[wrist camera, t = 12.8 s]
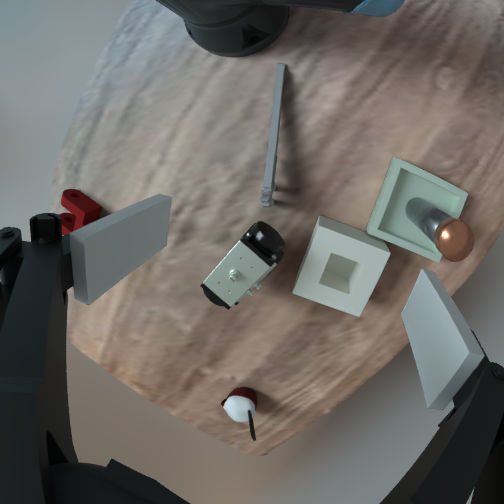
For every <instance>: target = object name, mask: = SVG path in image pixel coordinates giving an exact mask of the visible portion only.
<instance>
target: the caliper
mask: <svg viewBox="0 0 504 504" xmlns="http://www.w3.org/2000/svg"><path fill="white" fill-rule="evenodd" d="M284 71H285V64H282V63H278V66H277V69H276V79H275V88H274V97H273V107H272V116H271V126H270V135H269V145H268V153H267V158H266V167H265V176H264V185H263V187H264V190H261V192H262V195H263V196H262V197H261V199H260V200H261V201H262V204H261V205H262V206H264V207H272V206H273V205H274V202H275V200H274V199H272V192H273V191H276V186H275V182H274V177H275V171H276V162H277V156H276V155H277V146H278V136H279V127H280V117H281V107H282V97H283V87H284V74H285V72H284Z"/></svg>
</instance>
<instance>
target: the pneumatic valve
mask: <svg viewBox="0 0 504 504" xmlns="http://www.w3.org/2000/svg"><path fill="white" fill-rule="evenodd" d="M284 246H285V243H284V240H283V239H282V237H281V236H280V234H279V233H278V232H277V231H276V230H275V229H274V228H272V227H271V226H270V225H268V224H267V223H265V222H262V221H258V222H257V223H254V224H253V225H252V227H251V228H250V229H249V230H248V231H247V232H246V233H245V235H244V236H243V237H242V238H241V239H240V240H239V241H238V243H237V244H236V245H235V246H234V247H233V248H232V249H231V251H230V252H229V253H228V254H227V255H226V256H225V257H224V259H223V260H222V261H221V262H220V263H219V264H218V266H217V267H216V268H215V269H214V270H213V271H212V273H211V274H210V275H209V276H208V277H207V278H206V279H205V281H204V282H203V283H202V284H201V285H200V286H201V287H202V288H203V291H204V293H205V295H206V297H207V298H208V299H209V300H210V301H211V302H213V303H214V304H216V305H218V306H224V307H226V308H227V309H228V310H229V309H230V308H231V307H232V306H233V305H234V304H235V305H237V304H238V303H239V302H240V301H241V300H242V299H243V298H244V297H245V296H246V295H247V294H249V293H250V294H249V295H250V296H252V295H253V294H254V293H255V292H254V291H251V290H252V289H253V288H254V287H256V289H257V290H258V289H260V287H261V286H262V285H261V284H259V285H258V283H259V282H260V281H261V280H262V279H263V278H264V277H265V276H266V275H267V274H268V273H269V272H270V271H271V270H272V269H273V268H274V267H275V266H276V265H277V264H278V263H279V262H280V261H281V259H282V256H283V254H284V252H283V251H282V250H281V249H282V248H283V247H284Z"/></svg>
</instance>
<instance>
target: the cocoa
mask: <svg viewBox="0 0 504 504" xmlns="http://www.w3.org/2000/svg"><path fill="white" fill-rule="evenodd" d="M224 403H225V404H224ZM221 405H222V406H223V408H224V409H225V410H226V412H227V413H228V415H229V416H230V417H231V418H232V419H233V420H234V421H237V422H249V425H250V432H251V437H252V439H253V440H254V441H255V440H256V437H255V431H254V424H253V418H254V416H255V411H256V407H257V397H256V395H255V393H254V392H253V391H251V390H250V389H248V388H243V387H240V388H236V389H234V390H233V391H232V392H231V393H230V394H229V395H228V396H227V398H226V399H224V400H223V401H222V402H221Z"/></svg>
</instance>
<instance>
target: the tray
mask: <svg viewBox="0 0 504 504" xmlns="http://www.w3.org/2000/svg"><path fill="white" fill-rule="evenodd" d="M467 195H468V193H467V192H465V191H463V190H461V189H459V188H457V187H456V186H454V185H452V184H450V183H448V182H446V181H444V180H442V179H440V178H438V177H436V176H434V175H432V174H430V173H428V172H426V171H424V170H422V169H420V168H418V167H416V166H414V165H412V164H409V163H407V162H405V161H403V160H401V159H398V158H396V157H392V160H391V163H390V166H389V169H388V172H387V174H386V177H385V180H384V183H383V185H382V188H381V191H380V194H379V196H378V199H377V202H376V204H375V207H374V209H373V212H372V214H371V217H370V220H369V222H368V225H367V227H366V230H367V232H368V234H371V235H373V236H376V237H378V238H381V239H383V240H386V241H388V242H390V243H393V244H395V245H398V246H400V247H403V248H405V249H407V250H410V251H412V252H415V253H417V254H419V255H422V256H424V257H426V258H429V259H431V260H433V261H435V262H438V263H439V262H440V260H441V257H442V254H441V253H440V252H439V251H438V249H437V248H436V246H435V244H434V243H433V242H432V241H431V240H430V239H429V238H428V237H427V236H426V235H425V234H424V233H423V232H422V231H421V230H420V229H419V228H418V227H417V226H416V225H415V224H414V223H413V222H412V221H411V220H410V219H409V218H408V217H407V215H406V212H405V208H406V205H407V203H408V201H409V200H410V199H412V198H415V197H419V198H422V199H424V200H425V201H427V202H429V203H430V204H432V205H434V206H435V207H437V208H438V209H440V210H442V211H443V212H445V213H446V214H448V215H450V216H451V217H454V218H457V219H459V216H460V214H461V211H462V209H463V206H464V203H465V201H466V198H467Z"/></svg>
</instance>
